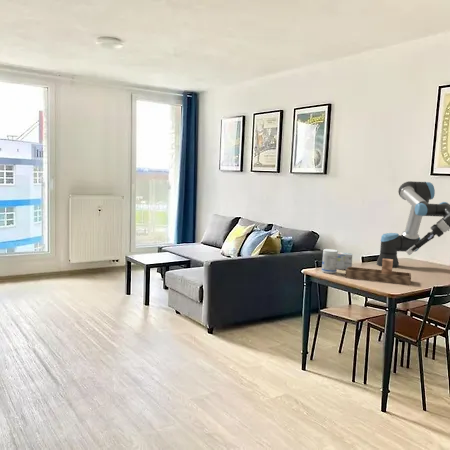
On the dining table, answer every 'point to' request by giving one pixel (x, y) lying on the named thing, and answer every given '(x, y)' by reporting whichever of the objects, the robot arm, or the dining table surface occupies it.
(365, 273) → the box
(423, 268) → the dining table surface
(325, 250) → the supplement tub
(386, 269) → the block
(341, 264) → the light bulb box
